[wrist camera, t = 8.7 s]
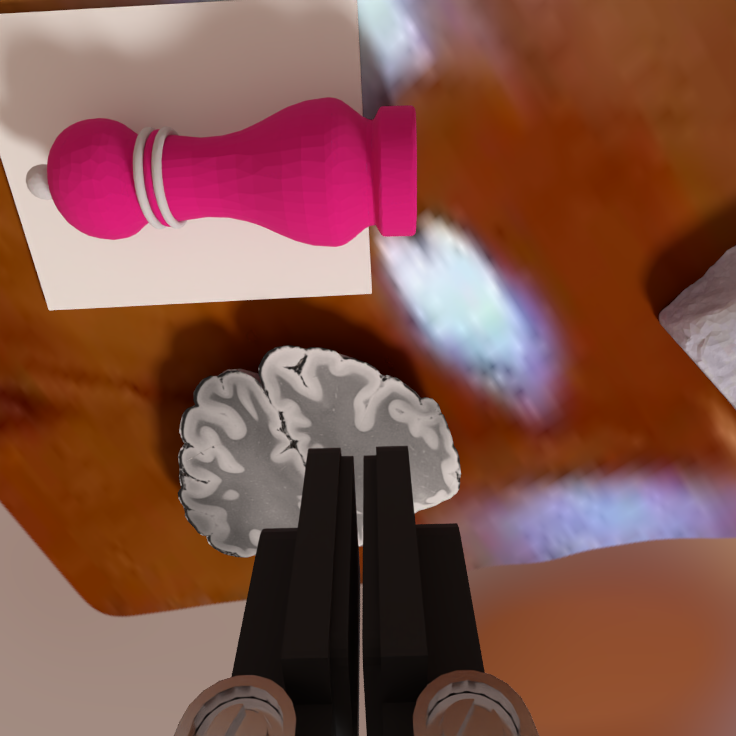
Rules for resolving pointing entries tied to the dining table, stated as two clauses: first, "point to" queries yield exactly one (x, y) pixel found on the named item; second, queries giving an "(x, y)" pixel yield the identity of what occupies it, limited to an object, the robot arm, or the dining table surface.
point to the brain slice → (299, 441)
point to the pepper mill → (241, 175)
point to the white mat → (188, 118)
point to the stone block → (709, 323)
